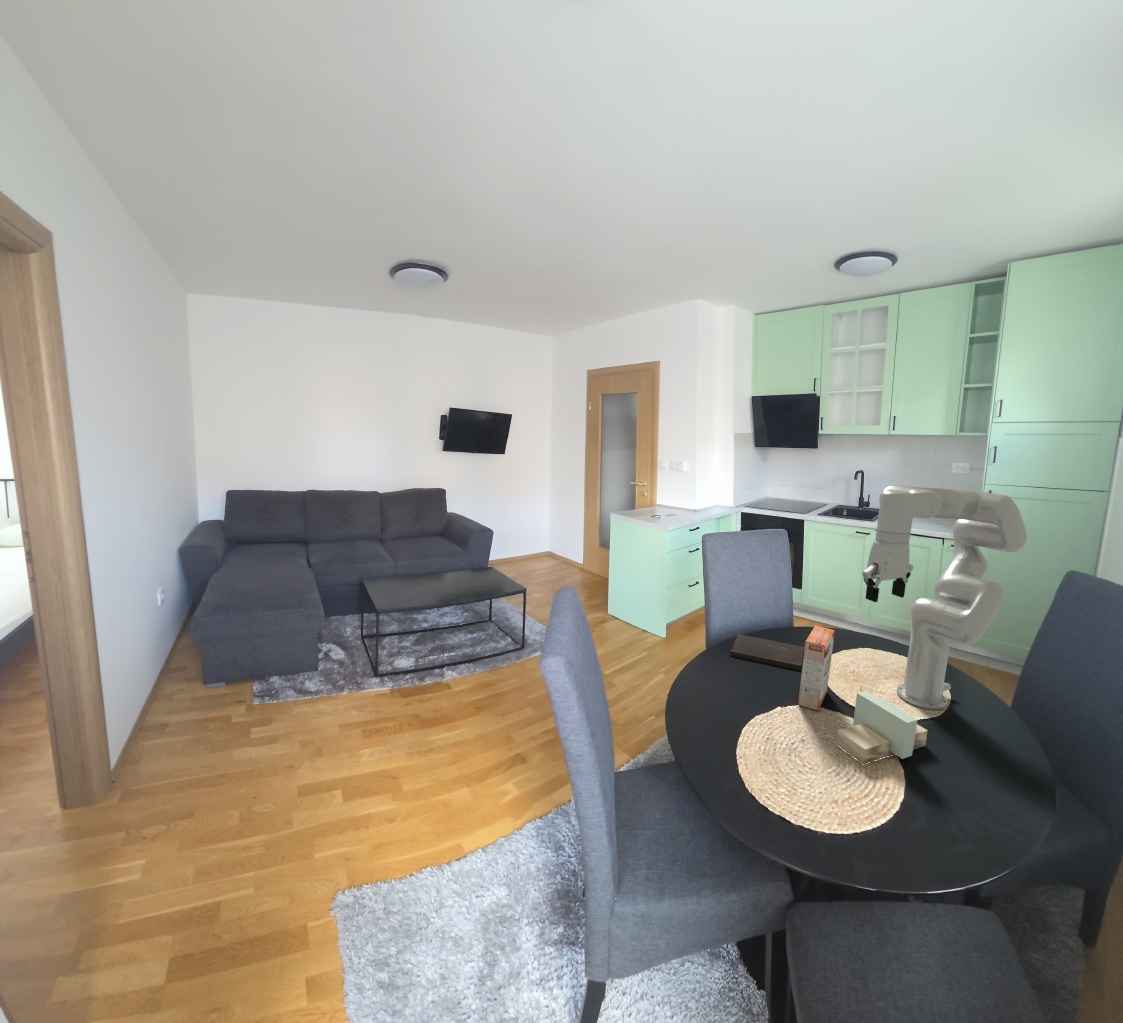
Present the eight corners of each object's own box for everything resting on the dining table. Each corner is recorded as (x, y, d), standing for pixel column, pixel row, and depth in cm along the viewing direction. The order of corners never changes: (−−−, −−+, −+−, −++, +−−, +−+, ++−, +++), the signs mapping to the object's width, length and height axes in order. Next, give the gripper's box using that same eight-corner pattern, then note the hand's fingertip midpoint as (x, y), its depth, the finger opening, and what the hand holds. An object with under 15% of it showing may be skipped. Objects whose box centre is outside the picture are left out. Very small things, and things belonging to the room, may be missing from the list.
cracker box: (819, 712, 146) (826, 646, 142) (797, 705, 150) (803, 640, 145) (828, 691, 157) (835, 629, 153) (808, 685, 160) (814, 624, 156)
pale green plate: (862, 723, 138) (866, 690, 136) (911, 755, 125) (917, 719, 124) (852, 726, 137) (856, 693, 135) (901, 758, 124) (907, 722, 122)
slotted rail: (896, 727, 139) (898, 713, 138) (925, 745, 131) (927, 730, 131) (835, 745, 132) (837, 730, 131) (862, 765, 124) (864, 749, 123)
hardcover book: (737, 639, 194) (738, 634, 193) (803, 652, 183) (803, 646, 183) (730, 657, 180) (730, 651, 180) (800, 672, 169) (801, 666, 169)
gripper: (902, 531, 139) (894, 589, 143) (855, 536, 133) (848, 597, 137) (929, 537, 132) (920, 598, 136) (881, 543, 127) (873, 607, 130)
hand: (884, 598), depth 136 cm, fingers open, 9 cm apart
